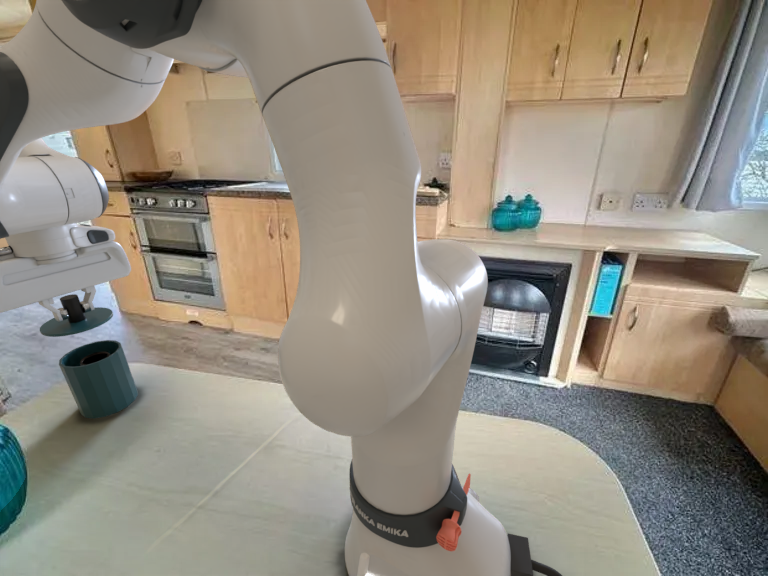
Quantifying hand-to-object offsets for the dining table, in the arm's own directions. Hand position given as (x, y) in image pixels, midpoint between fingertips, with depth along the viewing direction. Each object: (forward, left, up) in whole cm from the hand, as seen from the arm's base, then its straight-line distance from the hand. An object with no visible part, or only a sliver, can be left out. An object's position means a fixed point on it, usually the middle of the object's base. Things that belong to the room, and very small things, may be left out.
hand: (76, 314), depth 62 cm
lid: (0, 0, -2) cm, 2 cm away
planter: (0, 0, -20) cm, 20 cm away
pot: (0, 0, -20) cm, 20 cm away
